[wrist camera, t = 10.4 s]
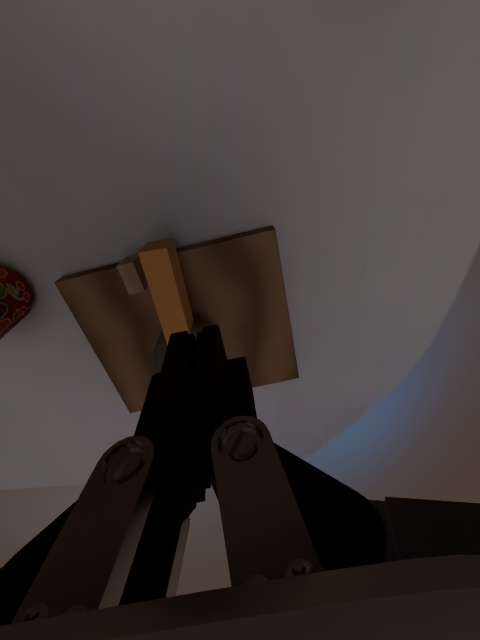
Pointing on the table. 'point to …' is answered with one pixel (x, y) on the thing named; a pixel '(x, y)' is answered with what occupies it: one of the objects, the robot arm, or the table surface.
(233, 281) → the wooden board with lever
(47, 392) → the table surface
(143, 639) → the robot arm
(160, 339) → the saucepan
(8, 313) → the smoothie
